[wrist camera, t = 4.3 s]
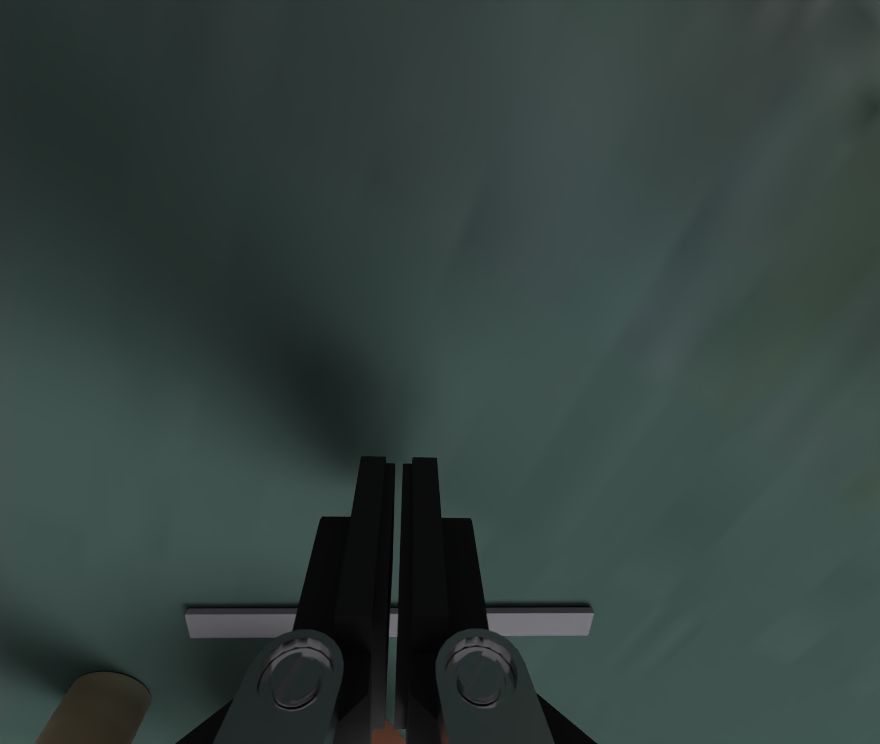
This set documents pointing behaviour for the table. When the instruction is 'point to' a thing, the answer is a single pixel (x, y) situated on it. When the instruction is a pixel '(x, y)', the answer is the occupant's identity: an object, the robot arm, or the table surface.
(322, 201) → the table surface
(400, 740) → the ball
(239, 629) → the lane line
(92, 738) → the birch pin
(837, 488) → the table surface
